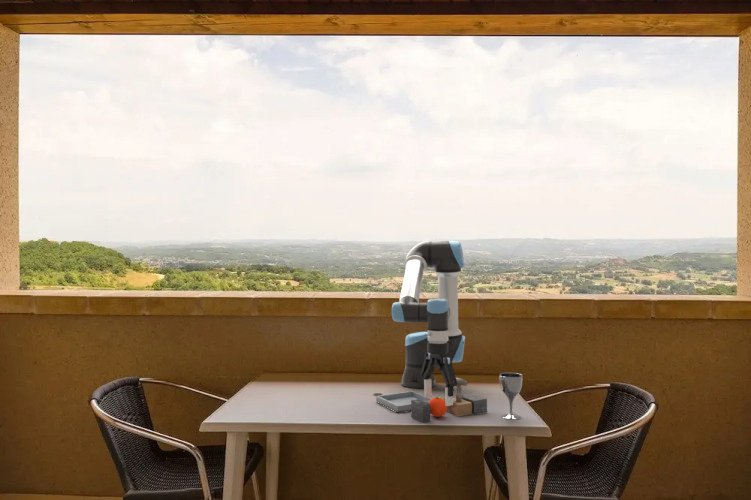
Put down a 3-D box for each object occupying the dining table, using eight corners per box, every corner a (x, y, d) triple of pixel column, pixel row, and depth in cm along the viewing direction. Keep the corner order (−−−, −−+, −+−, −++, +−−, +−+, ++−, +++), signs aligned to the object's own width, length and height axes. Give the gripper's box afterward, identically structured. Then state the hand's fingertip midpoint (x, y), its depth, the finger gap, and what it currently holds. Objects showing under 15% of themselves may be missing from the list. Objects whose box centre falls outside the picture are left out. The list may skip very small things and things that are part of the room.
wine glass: (496, 413, 198) (496, 372, 198) (518, 413, 199) (517, 372, 199) (503, 420, 190) (503, 377, 191) (526, 419, 191) (525, 376, 191)
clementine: (437, 412, 201) (437, 392, 201) (452, 416, 196) (452, 396, 196) (423, 416, 196) (423, 396, 196) (438, 420, 191) (438, 400, 191)
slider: (445, 410, 202) (445, 377, 202) (459, 408, 205) (458, 375, 205) (458, 416, 195) (458, 381, 195) (472, 413, 198) (471, 379, 198)
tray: (376, 402, 215) (376, 396, 215) (413, 397, 223) (412, 390, 223) (397, 413, 200) (397, 406, 200) (436, 407, 208) (436, 400, 208)
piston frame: (410, 416, 196) (410, 399, 196) (472, 406, 208) (471, 390, 208) (424, 423, 188) (423, 405, 188) (487, 412, 200) (487, 396, 200)
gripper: (411, 338, 206) (411, 395, 205) (449, 347, 183) (449, 410, 183) (427, 337, 209) (428, 392, 208) (467, 345, 187) (467, 407, 186)
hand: (438, 401), depth 196 cm, fingers open, 13 cm apart
